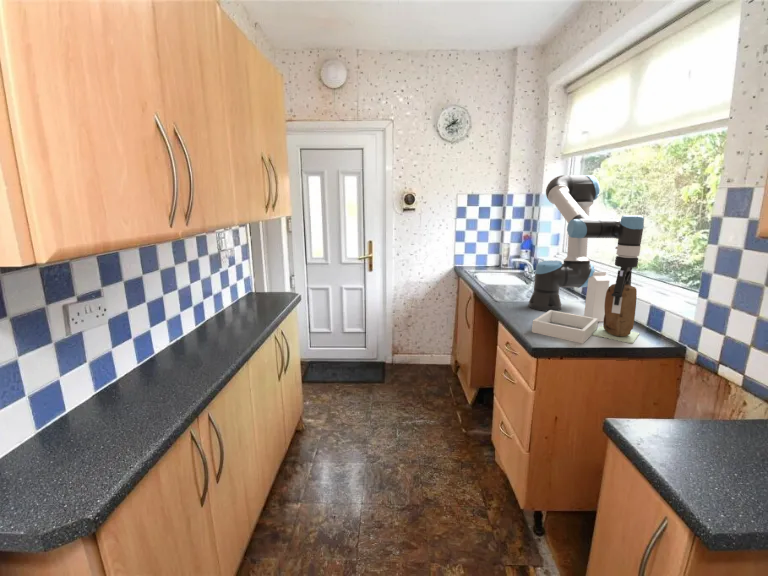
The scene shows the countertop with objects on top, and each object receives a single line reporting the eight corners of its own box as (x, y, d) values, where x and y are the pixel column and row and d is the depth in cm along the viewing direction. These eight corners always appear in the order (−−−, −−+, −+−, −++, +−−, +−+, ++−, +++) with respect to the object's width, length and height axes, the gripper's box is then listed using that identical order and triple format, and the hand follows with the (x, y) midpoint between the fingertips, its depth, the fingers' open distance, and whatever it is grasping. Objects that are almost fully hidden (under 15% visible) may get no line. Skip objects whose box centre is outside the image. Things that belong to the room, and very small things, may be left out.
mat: (600, 326, 166) (601, 325, 166) (639, 334, 157) (639, 332, 157) (592, 335, 156) (592, 334, 156) (632, 343, 147) (632, 342, 147)
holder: (549, 320, 175) (550, 309, 174) (596, 330, 162) (598, 318, 161) (531, 332, 160) (532, 320, 159) (582, 343, 147) (584, 331, 146)
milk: (604, 321, 173) (611, 273, 168) (591, 322, 173) (597, 273, 168) (595, 317, 179) (602, 270, 174) (583, 317, 179) (589, 270, 174)
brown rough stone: (634, 337, 152) (640, 287, 147) (615, 338, 151) (621, 288, 147) (616, 328, 162) (621, 281, 158) (598, 329, 162) (603, 282, 157)
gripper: (622, 252, 161) (615, 301, 166) (608, 258, 143) (601, 314, 147) (644, 253, 156) (636, 304, 161) (632, 261, 138) (623, 318, 143)
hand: (619, 309), depth 154 cm, fingers open, 13 cm apart
